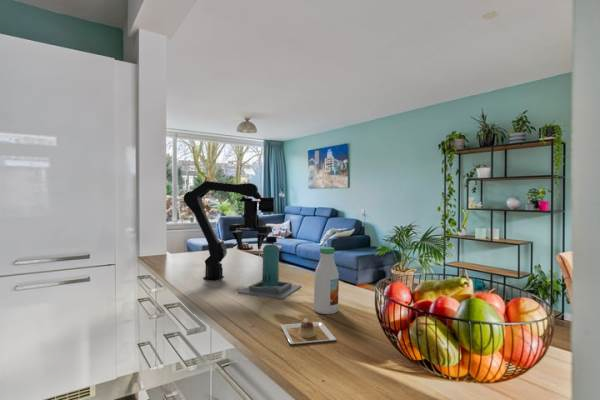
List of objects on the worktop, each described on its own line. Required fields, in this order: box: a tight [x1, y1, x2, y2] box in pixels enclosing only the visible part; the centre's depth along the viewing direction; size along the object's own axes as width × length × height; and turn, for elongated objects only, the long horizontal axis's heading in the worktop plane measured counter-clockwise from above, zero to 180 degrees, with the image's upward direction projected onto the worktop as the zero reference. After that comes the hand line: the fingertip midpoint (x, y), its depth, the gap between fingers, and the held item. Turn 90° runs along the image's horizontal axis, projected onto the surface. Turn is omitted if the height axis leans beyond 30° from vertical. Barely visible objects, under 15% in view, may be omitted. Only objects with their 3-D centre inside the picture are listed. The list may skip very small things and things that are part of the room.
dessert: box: [279, 317, 337, 345], centre depth 87 cm, size 12×12×5 cm
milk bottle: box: [313, 246, 340, 315], centre depth 105 cm, size 8×8×20 cm
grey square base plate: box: [237, 279, 302, 301], centre depth 127 cm, size 18×18×2 cm
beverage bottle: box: [261, 235, 280, 287], centre depth 127 cm, size 6×7×20 cm
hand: (249, 248), depth 143 cm, fingers open, 9 cm apart
